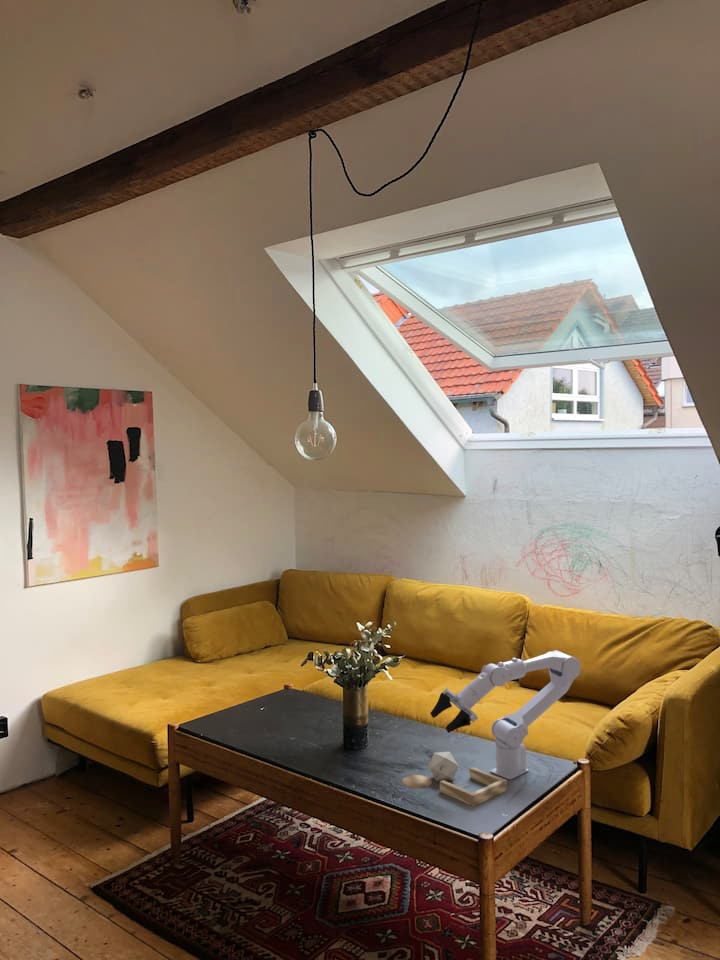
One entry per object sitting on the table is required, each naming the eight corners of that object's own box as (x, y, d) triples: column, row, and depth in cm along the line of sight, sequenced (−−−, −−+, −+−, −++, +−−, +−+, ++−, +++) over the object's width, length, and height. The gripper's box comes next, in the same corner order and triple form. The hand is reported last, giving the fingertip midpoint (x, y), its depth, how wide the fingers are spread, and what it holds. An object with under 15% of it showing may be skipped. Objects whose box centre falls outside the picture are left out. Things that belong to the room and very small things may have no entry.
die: (423, 779, 240) (427, 762, 234) (434, 757, 246) (438, 740, 240) (447, 792, 238) (452, 775, 231) (458, 769, 244) (463, 752, 238)
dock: (473, 776, 240) (473, 767, 240) (507, 790, 230) (506, 780, 230) (439, 791, 230) (439, 781, 230) (473, 806, 220) (473, 795, 220)
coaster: (416, 774, 243) (416, 772, 243) (437, 783, 237) (437, 781, 237) (396, 782, 238) (396, 781, 238) (417, 792, 231) (417, 790, 231)
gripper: (454, 673, 240) (421, 701, 237) (484, 698, 229) (450, 729, 225) (460, 686, 244) (428, 715, 241) (490, 713, 233) (457, 743, 229)
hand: (439, 722), depth 233 cm, fingers open, 7 cm apart
